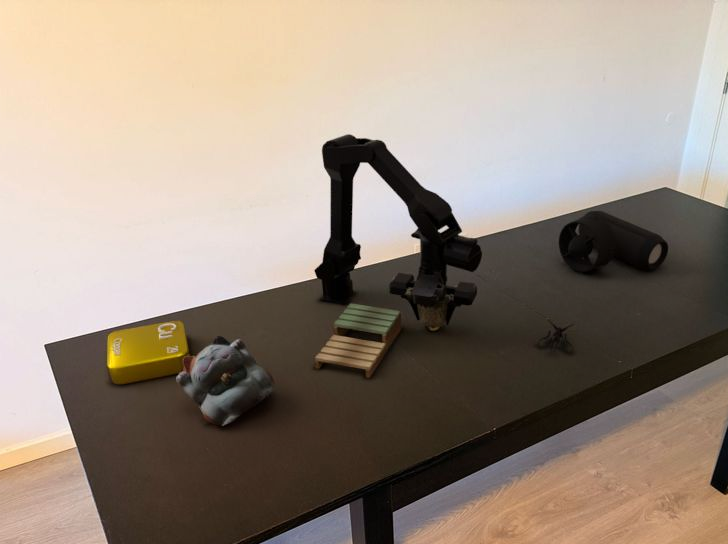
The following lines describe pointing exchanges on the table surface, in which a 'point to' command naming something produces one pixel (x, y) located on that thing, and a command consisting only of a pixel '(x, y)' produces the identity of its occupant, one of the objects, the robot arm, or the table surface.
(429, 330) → the ornate brown dome cover
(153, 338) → the element tile
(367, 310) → the rack
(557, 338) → the creature
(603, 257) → the black round hollow piece
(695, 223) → the table surface
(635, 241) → the portable speaker
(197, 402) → the lucky cat figurine
